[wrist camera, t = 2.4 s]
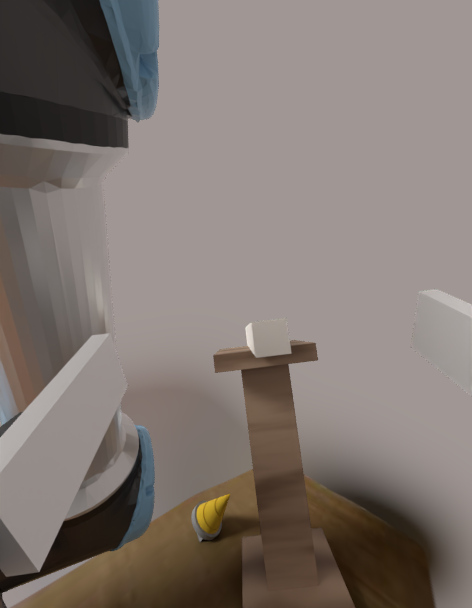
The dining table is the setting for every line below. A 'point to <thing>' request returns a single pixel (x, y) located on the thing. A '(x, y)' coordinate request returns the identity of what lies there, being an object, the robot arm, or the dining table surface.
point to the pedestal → (281, 492)
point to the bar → (268, 338)
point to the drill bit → (209, 517)
